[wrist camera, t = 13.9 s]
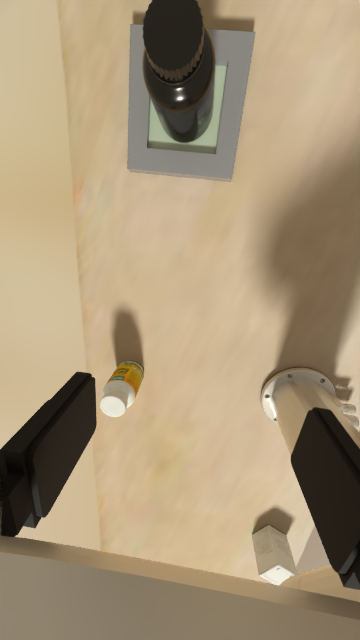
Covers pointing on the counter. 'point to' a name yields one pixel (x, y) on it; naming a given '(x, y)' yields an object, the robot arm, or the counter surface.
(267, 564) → the skincare box
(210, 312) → the counter surface
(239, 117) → the picture frame
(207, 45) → the supplement bottle
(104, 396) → the supplement bottle
